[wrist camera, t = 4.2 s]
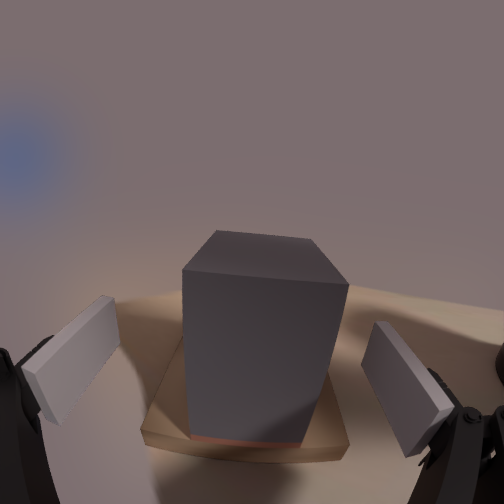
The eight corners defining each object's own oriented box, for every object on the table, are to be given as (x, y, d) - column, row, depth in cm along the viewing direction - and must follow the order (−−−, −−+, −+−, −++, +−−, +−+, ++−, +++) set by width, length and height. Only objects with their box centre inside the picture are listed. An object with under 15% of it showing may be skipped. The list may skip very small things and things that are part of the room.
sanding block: (289, 366, 20) (310, 239, 17) (299, 448, 12) (349, 284, 9) (211, 359, 20) (216, 230, 17) (191, 439, 12) (182, 269, 9)
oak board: (307, 335, 28) (310, 320, 27) (340, 459, 12) (349, 444, 12) (195, 325, 28) (195, 310, 28) (145, 444, 12) (140, 428, 12)
